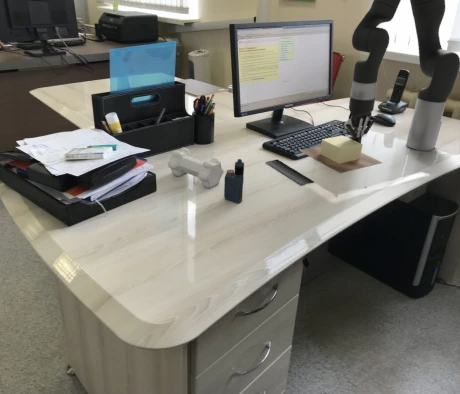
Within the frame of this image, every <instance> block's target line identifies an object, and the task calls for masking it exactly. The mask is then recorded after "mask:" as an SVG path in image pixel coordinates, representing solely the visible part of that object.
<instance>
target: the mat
mask: <svg viewBox="0 0 460 394" xmlns="http://www.w3.org/2000/svg"><path fill="white" fill-rule="evenodd" d="M265 164H267V165H268V166H270V167H272V168H273V169H275V170H276V171H278V172H279V173H281V174H282V175H283V176H285V177H287V178H288V179H290V180H292V181H293V182H295V183H297V184H298V185H300V186H304V185H308V184H312V183H315V181H314V180H312V179H311V178H309V177H307V176H306V175H304V174H303V173H301V172H299V171H297V169H294V168H293V167H291V166H290V165H287V164H286V163H285V162H283V161H281V160H280V159H273V160H269V161H265Z"/></svg>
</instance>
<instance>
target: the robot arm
mask: <svg viewBox="0 0 460 394" xmlns="http://www.w3.org/2000/svg"><path fill="white" fill-rule="evenodd" d="M409 1H410V7H411V11H412V12H411V13H412V16H413V21H414V26H415V32H416V38H417V47H418V58H419V59H418V60H419V66H420V71H421V73H422V74H423V75H425V76H426V77H428V78H431V80H430V82H429V85H428V86H427V87H422V88H420V89H419V90H418V94H417V97H416V101H415V106H414V110H413V114H412V118H411V123H410V126H409V131H408V133H407V139H406V143H405V144H406V146H407V147H408V148H411V149H413V150H417V151H422V152H423V151H424V152H427V151H428V152H429V151H433V149H434V148H435V147H436V143H437V140H438V137H439V133H440V131H441V127H442V126H441V125H442V123H443V122H442V118H443V115H444V110H445V107H446V104H447V100H448V97H449V96H450V94H451V93H452V91H453V89H454V85H455V83H456V79H457V76H458V74H459V70H460V56H459V55H458V53H456V52H453V51H450V50H445V49H443V48H442V44H441V40H440V33H439V32H440V26H441V24H442V22H443V19H444V16H445V12H446V0H409ZM400 3H401V0H373V2H372V3H371V6H370V8H369V10H368V11H367V12H366V13H365V15H364V16H363V18H362V19H361V21H360V22H359V23H358V24H357V26H356V28H355V30H354V32H353V33H352V37H351V43H352V47H353V49H354V50H356V51H357V52H358V51H359V52H364V53H369V54H368V57H367V58H366V59H365V58H364V59H360V60H357V61H356V63H355V64H354V70H353V77H352V84H351V86H350V87H351V89H350V95H349V96H350V97H349V103H348V110H349V115H348V118H347V120H346V121H343V122H342V124H341V126H342V128H344V129H345V130H346V131H345V130H344V131H345V132H346V133H347V135H349V136H350V137H352V138H351V139H352V140H354V141H356V142H358V143H361V144H362V139H363V137H364V134H366V135H367V133H369V131H370V129H371V128H372V126H373V125H374V123H375V121H376V120H377V118H376V116H373V114H372V112H374V108H375V101H376V96H377V89H378V87H377V83H378V75H379V69H380V67H381V66H380V65H381V63H382V61H383V59H384V56H385V54H386V52H387V49H388V47H389V44H390V34H389V31H388V30H387V29H386V28H383V27H378V26H379V25H380V24H383V23H388V22H391V21H392V20H393V18H394V17H395V14H396V12H397V9H398V8H399V6H400Z"/></svg>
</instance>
